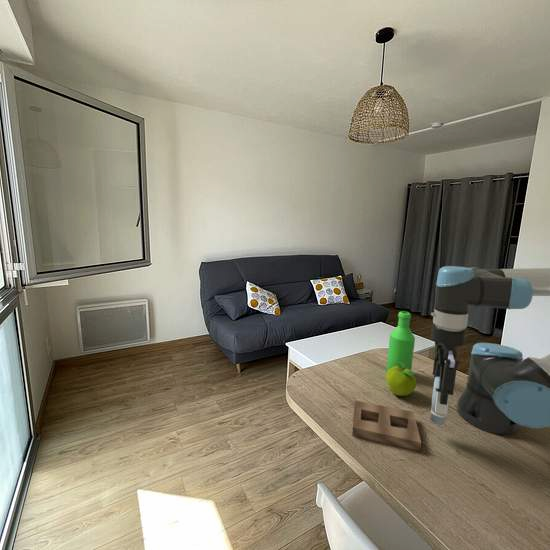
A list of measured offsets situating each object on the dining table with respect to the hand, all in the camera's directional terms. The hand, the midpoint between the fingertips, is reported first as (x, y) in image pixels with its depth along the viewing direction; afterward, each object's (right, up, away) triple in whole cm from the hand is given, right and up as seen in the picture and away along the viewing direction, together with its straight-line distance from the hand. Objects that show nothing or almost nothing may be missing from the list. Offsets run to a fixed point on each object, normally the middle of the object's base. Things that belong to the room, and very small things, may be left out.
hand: (439, 408), depth 79 cm
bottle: (+3, -3, +34) cm, 35 cm away
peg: (0, -4, +1) cm, 4 cm away
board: (-13, -7, +4) cm, 16 cm away
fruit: (-2, -5, +22) cm, 22 cm away
